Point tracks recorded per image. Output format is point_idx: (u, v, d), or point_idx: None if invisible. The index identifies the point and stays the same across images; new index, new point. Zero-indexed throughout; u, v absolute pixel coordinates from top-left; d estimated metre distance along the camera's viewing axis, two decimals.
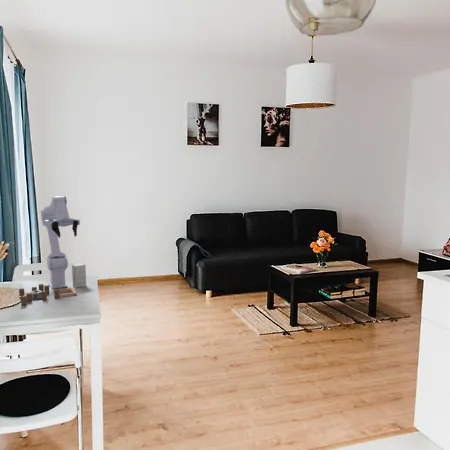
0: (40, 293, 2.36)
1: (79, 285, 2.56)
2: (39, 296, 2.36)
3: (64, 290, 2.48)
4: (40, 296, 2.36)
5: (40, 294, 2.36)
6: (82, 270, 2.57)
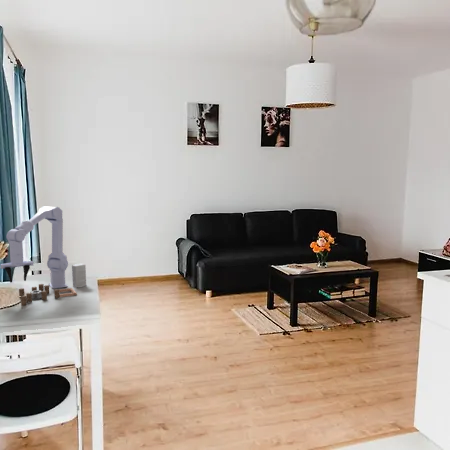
0: (40, 293, 2.36)
1: (79, 285, 2.56)
2: (39, 296, 2.36)
3: (64, 290, 2.48)
4: (40, 296, 2.36)
5: (40, 294, 2.36)
6: (82, 270, 2.57)
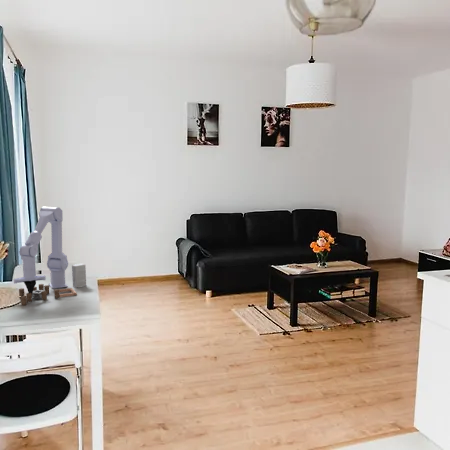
0: None
1: (79, 285, 2.56)
2: (41, 296, 2.36)
3: (64, 290, 2.48)
4: None
5: None
6: (82, 270, 2.57)
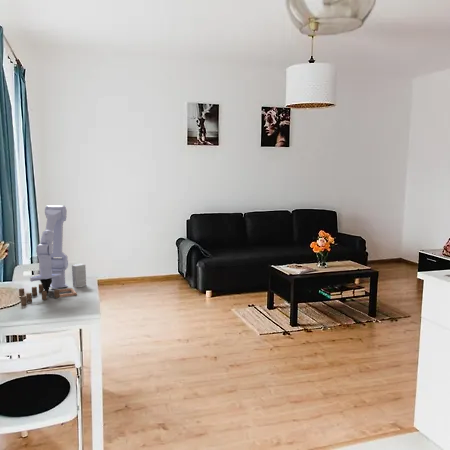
0: None
1: (79, 285, 2.56)
2: None
3: (64, 290, 2.48)
4: None
5: None
6: (82, 270, 2.57)
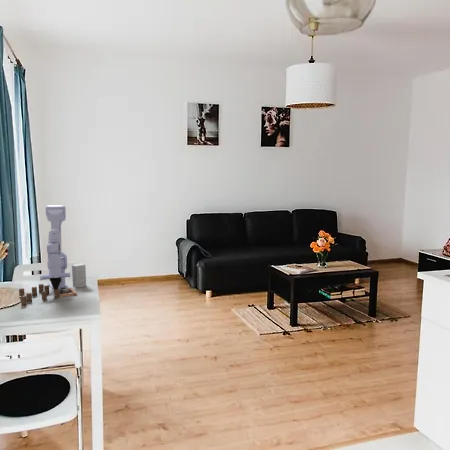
0: (67, 290, 2.43)
1: (79, 285, 2.56)
2: (66, 292, 2.42)
3: None
4: (67, 292, 2.43)
5: (67, 291, 2.43)
6: (82, 270, 2.57)
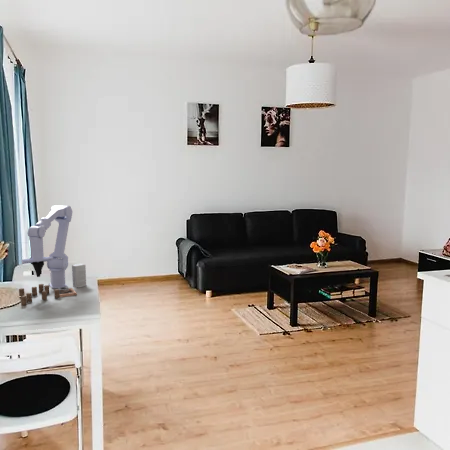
0: (67, 290, 2.43)
1: (79, 285, 2.56)
2: (66, 292, 2.42)
3: None
4: (67, 292, 2.43)
5: (67, 291, 2.43)
6: (82, 270, 2.57)
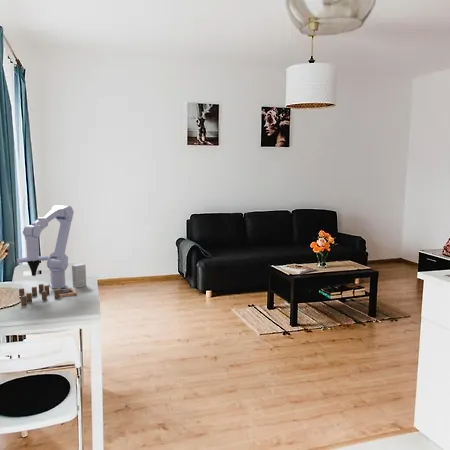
0: (67, 290, 2.43)
1: (79, 285, 2.56)
2: (66, 292, 2.42)
3: None
4: (67, 292, 2.43)
5: (67, 291, 2.43)
6: (82, 270, 2.57)
